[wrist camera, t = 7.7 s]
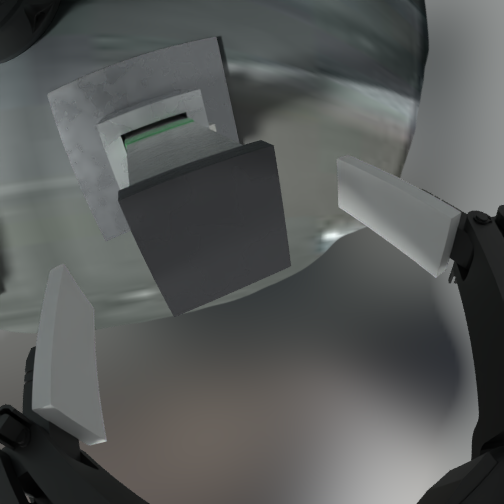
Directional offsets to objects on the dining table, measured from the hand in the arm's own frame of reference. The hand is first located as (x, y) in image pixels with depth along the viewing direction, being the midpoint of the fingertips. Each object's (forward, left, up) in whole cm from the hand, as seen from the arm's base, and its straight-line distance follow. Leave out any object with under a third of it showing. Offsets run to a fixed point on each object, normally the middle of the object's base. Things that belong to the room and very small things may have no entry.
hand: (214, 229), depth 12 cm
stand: (0, 0, -28) cm, 28 cm away
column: (0, 0, -21) cm, 21 cm away
